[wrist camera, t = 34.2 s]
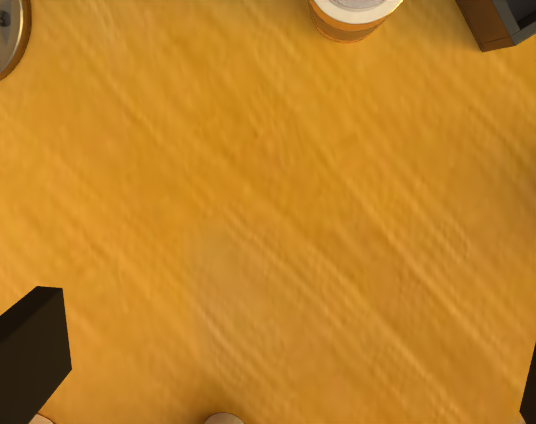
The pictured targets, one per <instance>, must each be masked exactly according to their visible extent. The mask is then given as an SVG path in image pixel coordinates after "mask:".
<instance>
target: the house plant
mask: <svg viewBox="0 0 536 424" xmlns="http://www.w3.org/2000/svg"><path fill="white" fill-rule="evenodd" d="M204 424H244V423H243V421H242V420H241V419H240V418H238V417H237V416H235V415H232V414H230V413H217V414H214V415H212V416H210V417H209V418H208V419H207V420H206V422H205V423H204Z"/></svg>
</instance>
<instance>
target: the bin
mask: <svg viewBox="0 0 536 424" xmlns="http://www.w3.org/2000/svg"><path fill="white" fill-rule="evenodd" d="M456 2H457V4H458V6H459V8H460V10H461V12H462V14H463V16H464V18H465V20H466V22H467V24H468V25H469V27H470V29H471V31H472V33H473V35H474V37H475V39H476V41H477V43H478V45H479V47H480V49H481V51H482V52H486V51H491V50H496V49H501V48H506V47H511V46H516V45H517V44H519V43H521V42H522V41H524V40H526V39H527V38H529V37H531V36H532V35H534V34H536V0H456Z"/></svg>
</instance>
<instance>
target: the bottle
mask: <svg viewBox="0 0 536 424" xmlns="http://www.w3.org/2000/svg"><path fill="white" fill-rule="evenodd" d="M29 424H53V423H52V422H51V421H50V420H49V419H47V418H45V417H42V416H40V415H37V414H36V415H35V416H34V418H33V419H32V420H31V421H30V423H29Z"/></svg>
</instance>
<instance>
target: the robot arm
mask: <svg viewBox="0 0 536 424" xmlns="http://www.w3.org/2000/svg"><path fill="white" fill-rule="evenodd" d="M30 26H31V9H30V1H29V0H0V80H2V79H3V78H4V77H6V76H7V75H8V74H9V73H10V72H11V71H12V70H13V69H14V68H15V66H16V65H17V63H18V62H19V60H20V59H21V57H22V55H23V53H24V51H25V48H26V45H27V42H28V38H29V34H30ZM71 370H72V366H71V357H70V349H69V340H68V332H67V323H66V315H65V306H64V298H63V289H62V288H54V287H42V286H37V287H35V288H34V289H33V290H32V291H30V292H29V293H28V294H27V295H25V296H24V297H23V298H22V299H21V300H19V301H18V302H17V303H16V304H14V305H13V306H12V307H11V308H9V309H8V310H7V311H6V312H4V313H3V314H2V315H1V316H0V424H29V423H30V421H31V420H32V419H33V418H34V416H35V415H36V414H37V413H38V411H39V410H40V409H41V408H42V406H43V405H44V404H45V403H46V401H47V400H48V399H49V398H50V396H51V395H52V394H53V392H54V391H55V390H56V389H57V387H58V386H59V385H60V384H61V382H62V381H63V380H64V379H65V377H66V376H67V375H68V374H69V372H70V371H71ZM520 413H521V415H522V417H523V419H524V420H525V422H526V424H536V344H535V348H534V352H533V356H532V360H531V365H530V369H529V373H528V377H527V381H526V386H525V390H524V394H523V398H522V402H521V407H520Z"/></svg>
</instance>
